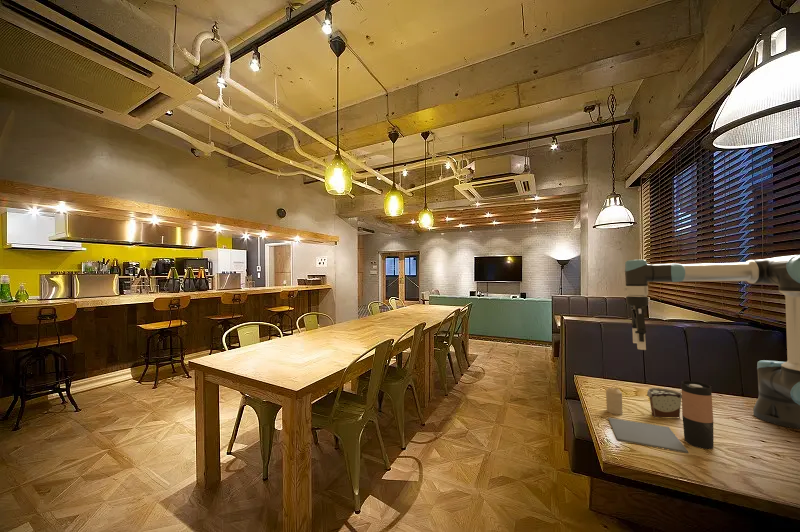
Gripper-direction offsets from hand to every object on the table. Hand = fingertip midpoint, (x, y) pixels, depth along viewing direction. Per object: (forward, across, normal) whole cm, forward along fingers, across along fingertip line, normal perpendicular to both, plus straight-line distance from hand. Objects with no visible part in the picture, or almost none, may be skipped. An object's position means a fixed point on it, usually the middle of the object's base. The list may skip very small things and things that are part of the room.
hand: (639, 346), depth 130 cm
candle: (+28, +4, -10) cm, 30 cm away
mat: (+28, +22, -2) cm, 35 cm away
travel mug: (+28, +20, +13) cm, 37 cm away
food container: (+28, -2, +7) cm, 29 cm away
